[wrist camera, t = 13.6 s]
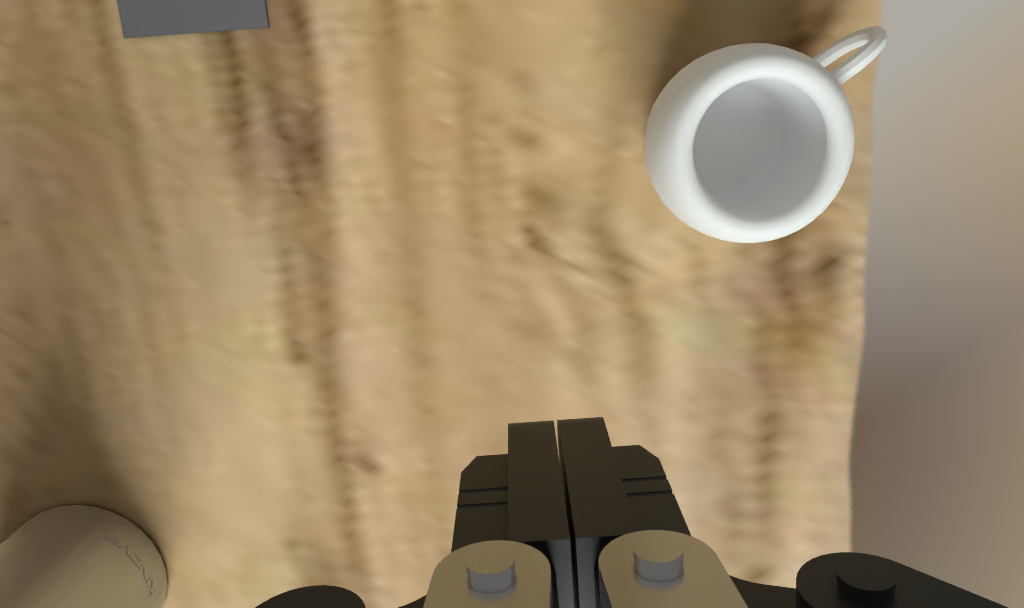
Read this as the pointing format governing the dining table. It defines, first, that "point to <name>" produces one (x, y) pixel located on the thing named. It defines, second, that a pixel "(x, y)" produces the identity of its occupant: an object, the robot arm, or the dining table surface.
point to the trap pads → (189, 16)
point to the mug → (755, 137)
